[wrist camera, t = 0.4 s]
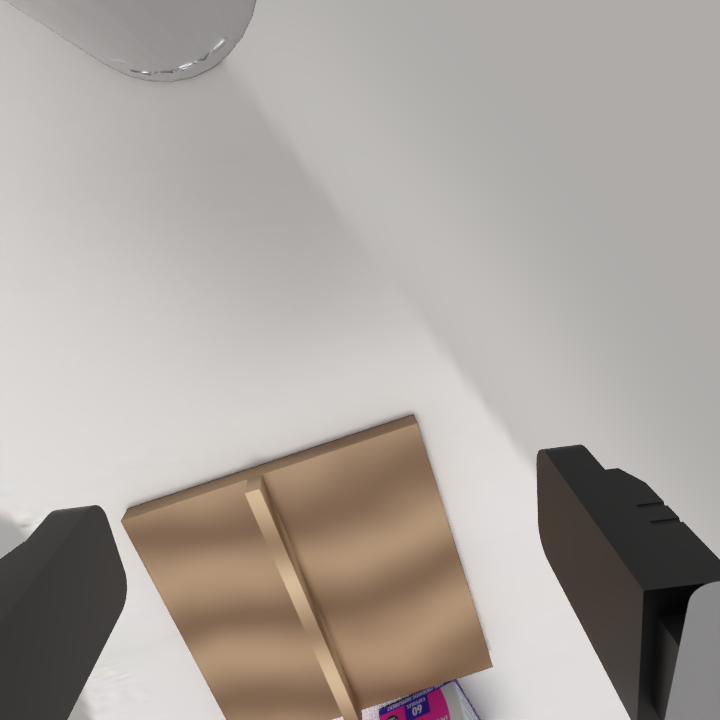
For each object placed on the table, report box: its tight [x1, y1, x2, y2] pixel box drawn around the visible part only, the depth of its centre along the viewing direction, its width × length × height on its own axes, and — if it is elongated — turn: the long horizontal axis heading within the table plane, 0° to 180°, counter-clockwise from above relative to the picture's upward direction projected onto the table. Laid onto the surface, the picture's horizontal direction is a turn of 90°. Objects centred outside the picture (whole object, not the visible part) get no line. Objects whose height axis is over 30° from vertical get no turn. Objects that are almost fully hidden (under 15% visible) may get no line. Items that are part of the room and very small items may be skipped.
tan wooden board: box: [121, 415, 493, 720], centre depth 33 cm, size 18×17×3 cm
